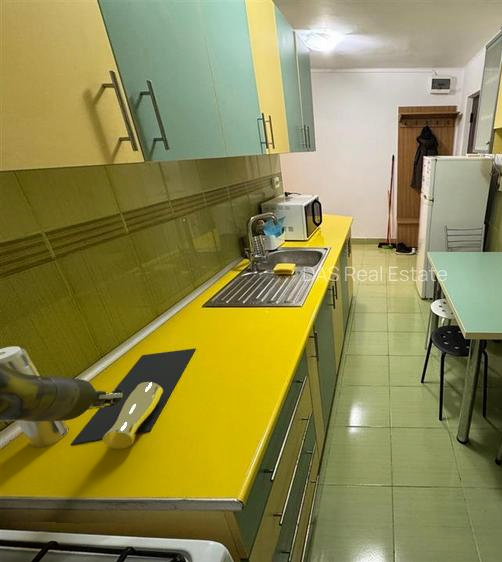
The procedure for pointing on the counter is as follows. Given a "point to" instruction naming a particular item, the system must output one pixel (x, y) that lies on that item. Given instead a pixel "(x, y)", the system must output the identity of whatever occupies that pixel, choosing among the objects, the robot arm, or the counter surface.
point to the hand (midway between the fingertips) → (114, 401)
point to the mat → (147, 369)
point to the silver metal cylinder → (34, 431)
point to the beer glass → (133, 415)
